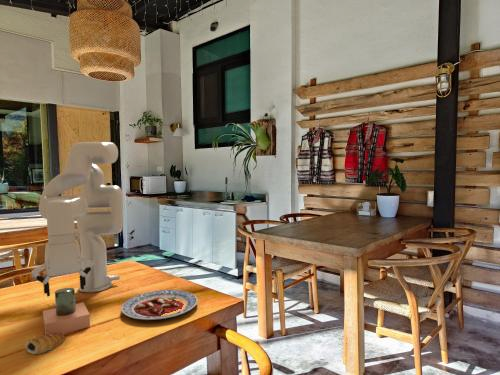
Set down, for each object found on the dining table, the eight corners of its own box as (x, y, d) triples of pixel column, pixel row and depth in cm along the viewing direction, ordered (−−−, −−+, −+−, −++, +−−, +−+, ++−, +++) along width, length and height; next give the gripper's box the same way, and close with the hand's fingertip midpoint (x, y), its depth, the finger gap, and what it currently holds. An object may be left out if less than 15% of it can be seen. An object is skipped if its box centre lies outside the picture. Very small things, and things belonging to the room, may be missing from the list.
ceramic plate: (147, 333, 106) (147, 323, 105) (107, 310, 123) (107, 302, 123) (212, 307, 125) (212, 298, 124) (170, 290, 142) (169, 283, 142)
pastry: (55, 337, 105) (55, 324, 104) (70, 342, 101) (69, 329, 101) (23, 352, 96) (22, 338, 96) (38, 358, 93) (37, 344, 93)
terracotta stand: (84, 313, 120) (83, 302, 120) (90, 326, 110) (89, 314, 110) (43, 322, 114) (42, 310, 114) (45, 337, 104) (45, 324, 104)
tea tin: (74, 307, 116) (73, 286, 115) (76, 313, 111) (75, 291, 111) (55, 311, 113) (54, 290, 112) (56, 317, 108) (55, 295, 108)
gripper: (89, 232, 119) (92, 282, 120) (29, 240, 109) (33, 293, 111) (93, 237, 112) (96, 289, 114) (30, 245, 103) (34, 302, 104)
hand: (65, 291), depth 112 cm, fingers open, 9 cm apart
